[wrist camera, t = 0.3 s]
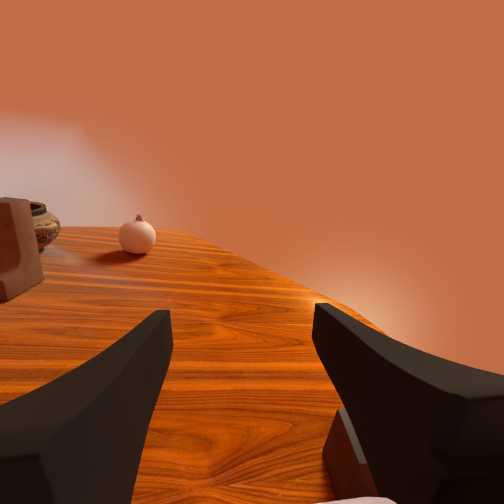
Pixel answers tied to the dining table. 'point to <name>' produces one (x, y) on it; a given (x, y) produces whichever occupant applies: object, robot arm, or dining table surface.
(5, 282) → the wooden block
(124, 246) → the ornament
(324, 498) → the dining table surface
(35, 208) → the ceramic bowl
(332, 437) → the dark brown block
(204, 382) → the dining table surface
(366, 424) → the robot arm
